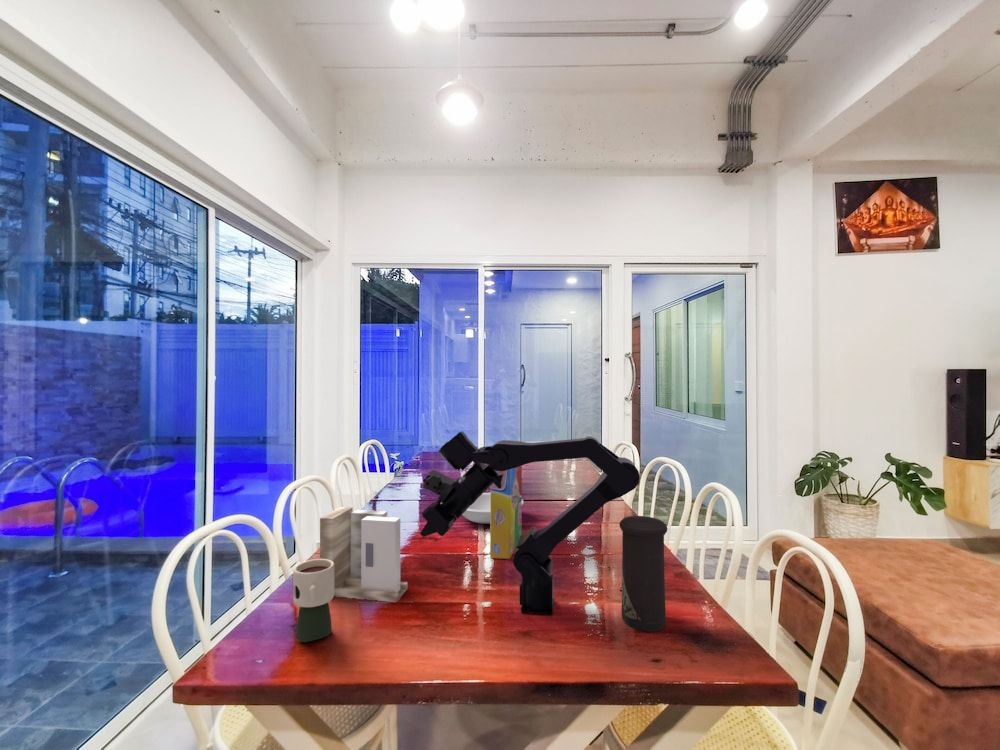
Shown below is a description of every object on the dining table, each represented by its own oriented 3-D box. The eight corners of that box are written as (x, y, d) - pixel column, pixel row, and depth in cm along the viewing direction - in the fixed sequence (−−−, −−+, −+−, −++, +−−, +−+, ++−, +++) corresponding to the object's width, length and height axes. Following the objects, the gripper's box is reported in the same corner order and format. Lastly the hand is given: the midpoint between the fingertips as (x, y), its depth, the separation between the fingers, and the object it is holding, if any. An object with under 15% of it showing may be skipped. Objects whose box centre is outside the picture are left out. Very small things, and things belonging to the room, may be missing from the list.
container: (630, 605, 96) (630, 510, 97) (674, 619, 91) (673, 518, 91) (612, 622, 90) (612, 519, 90) (658, 638, 84) (657, 529, 84)
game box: (510, 560, 121) (509, 457, 121) (489, 558, 122) (489, 456, 122) (522, 534, 141) (521, 445, 141) (504, 533, 142) (504, 445, 142)
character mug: (295, 624, 89) (295, 557, 89) (334, 618, 91) (334, 552, 91) (290, 656, 79) (290, 580, 79) (334, 648, 81) (334, 574, 81)
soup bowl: (443, 515, 161) (443, 496, 161) (504, 507, 171) (504, 489, 171) (467, 537, 139) (467, 515, 139) (536, 526, 149) (536, 505, 149)
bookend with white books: (413, 582, 108) (413, 509, 108) (396, 602, 98) (396, 522, 98) (342, 576, 111) (342, 506, 111) (319, 595, 101) (319, 518, 101)
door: (400, 589, 103) (400, 517, 103) (394, 595, 99) (394, 522, 100) (367, 586, 104) (367, 516, 104) (360, 592, 101) (360, 520, 101)
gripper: (456, 452, 109) (412, 497, 111) (431, 467, 90) (379, 520, 92) (489, 486, 107) (444, 531, 109) (470, 508, 89) (416, 562, 91)
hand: (422, 534), depth 100 cm, fingers closed
